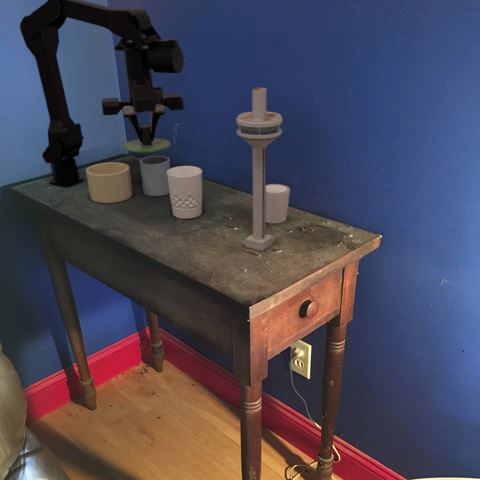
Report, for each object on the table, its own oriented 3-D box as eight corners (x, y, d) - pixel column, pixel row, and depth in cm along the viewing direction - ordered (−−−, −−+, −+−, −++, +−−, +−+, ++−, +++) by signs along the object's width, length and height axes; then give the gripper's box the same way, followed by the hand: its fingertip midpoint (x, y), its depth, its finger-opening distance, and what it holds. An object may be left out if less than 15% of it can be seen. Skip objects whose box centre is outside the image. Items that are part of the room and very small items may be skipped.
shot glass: (287, 225, 124) (288, 194, 120) (256, 223, 125) (256, 192, 121) (291, 213, 129) (292, 184, 126) (261, 212, 131) (261, 182, 127)
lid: (125, 156, 132) (122, 133, 129) (122, 144, 141) (119, 122, 138) (173, 152, 134) (171, 129, 131) (167, 140, 143) (165, 119, 141)
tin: (91, 204, 136) (86, 176, 133) (90, 190, 145) (85, 164, 141) (134, 200, 138) (130, 172, 135) (130, 187, 147) (127, 160, 143)
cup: (137, 193, 143) (133, 161, 139) (155, 184, 148) (152, 154, 144) (160, 198, 140) (157, 166, 135) (177, 189, 145) (175, 158, 141)
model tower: (266, 257, 110) (268, 95, 94) (231, 248, 114) (226, 90, 98) (286, 241, 116) (291, 87, 100) (251, 233, 120) (251, 83, 104)
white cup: (206, 207, 133) (204, 166, 128) (201, 220, 127) (199, 177, 121) (174, 207, 134) (170, 165, 129) (167, 219, 127) (163, 176, 122)
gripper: (98, 80, 120) (109, 153, 128) (184, 74, 124) (189, 146, 132) (97, 72, 129) (107, 141, 138) (177, 67, 133) (182, 135, 141)
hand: (146, 141), depth 137 cm, fingers closed on lid, 2 cm apart
